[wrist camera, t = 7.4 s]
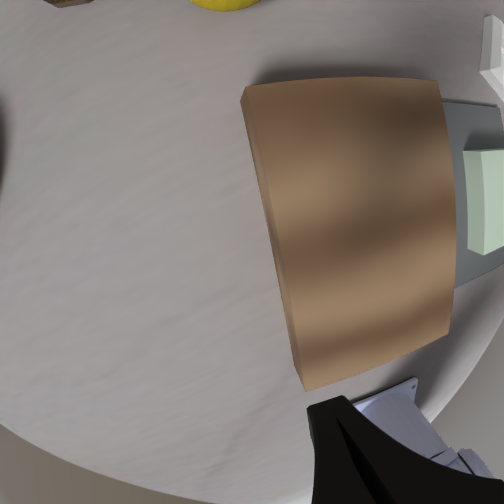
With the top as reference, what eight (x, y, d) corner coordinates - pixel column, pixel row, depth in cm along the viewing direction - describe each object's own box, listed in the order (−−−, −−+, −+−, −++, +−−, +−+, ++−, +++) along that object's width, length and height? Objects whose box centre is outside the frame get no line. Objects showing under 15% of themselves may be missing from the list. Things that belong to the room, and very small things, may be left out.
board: (427, 317, 21) (448, 333, 18) (294, 365, 20) (305, 391, 17) (410, 88, 16) (436, 80, 13) (240, 100, 15) (245, 86, 12)
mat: (503, 260, 21) (506, 261, 21) (433, 294, 20) (436, 296, 20) (496, 108, 17) (499, 108, 16) (418, 101, 16) (421, 101, 16)
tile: (483, 255, 17) (467, 248, 19) (517, 239, 18) (502, 233, 20) (480, 151, 15) (462, 150, 17) (515, 149, 15) (499, 148, 17)
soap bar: (507, 49, 15) (523, 46, 13) (503, 105, 17) (522, 104, 15) (481, 18, 14) (497, 12, 12) (476, 72, 16) (496, 68, 13)
